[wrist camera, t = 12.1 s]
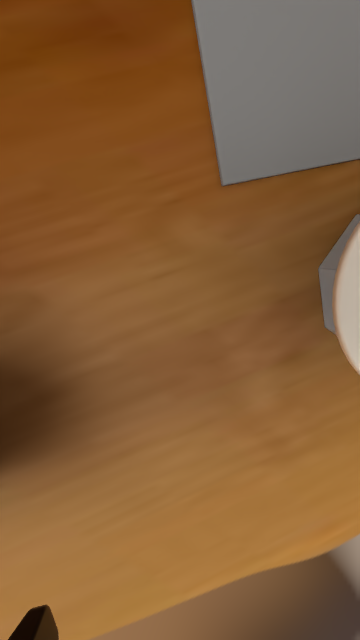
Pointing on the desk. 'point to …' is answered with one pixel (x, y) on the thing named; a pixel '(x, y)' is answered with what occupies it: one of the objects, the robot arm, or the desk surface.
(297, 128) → the mat
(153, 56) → the desk surface
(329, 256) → the bowl
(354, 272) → the lid
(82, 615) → the desk surface
